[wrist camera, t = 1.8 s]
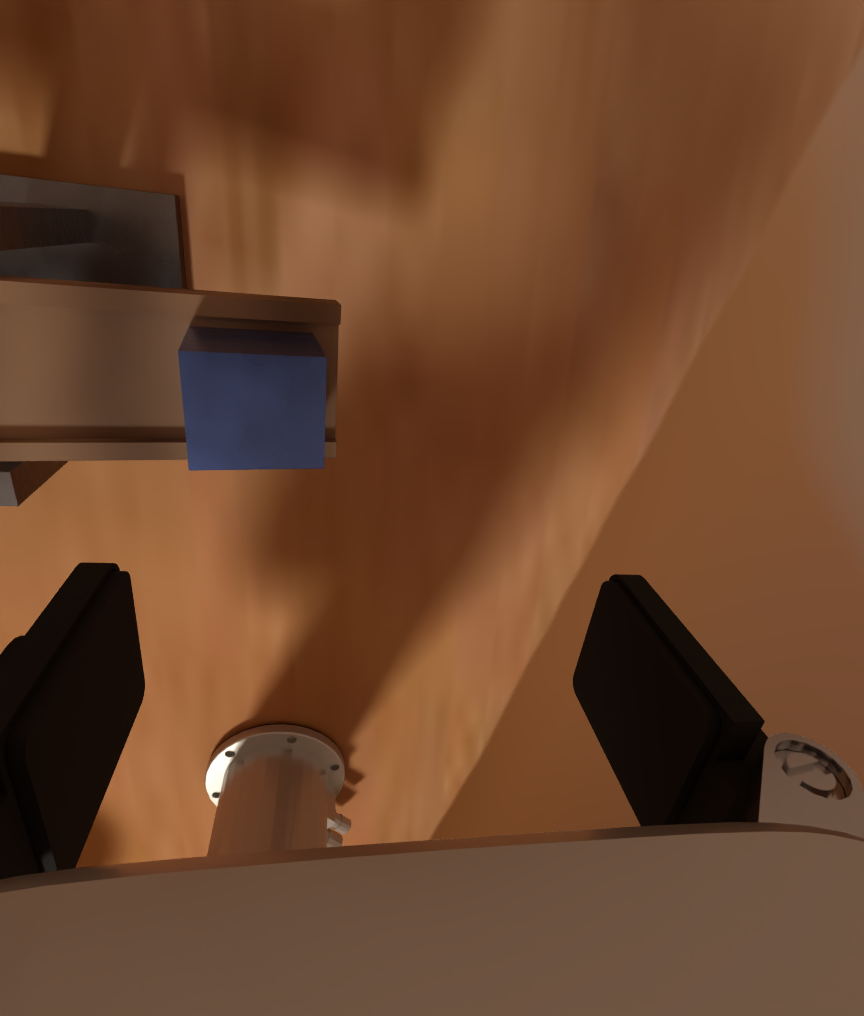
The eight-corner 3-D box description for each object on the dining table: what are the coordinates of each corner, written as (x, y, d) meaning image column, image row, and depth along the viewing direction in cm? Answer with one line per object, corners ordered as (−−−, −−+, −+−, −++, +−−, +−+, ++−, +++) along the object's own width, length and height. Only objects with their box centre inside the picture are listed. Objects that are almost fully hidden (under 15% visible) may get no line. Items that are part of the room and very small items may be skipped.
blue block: (312, 332, 25) (326, 357, 21) (311, 428, 27) (324, 468, 22) (189, 325, 23) (177, 350, 19) (197, 427, 25) (189, 470, 21)
